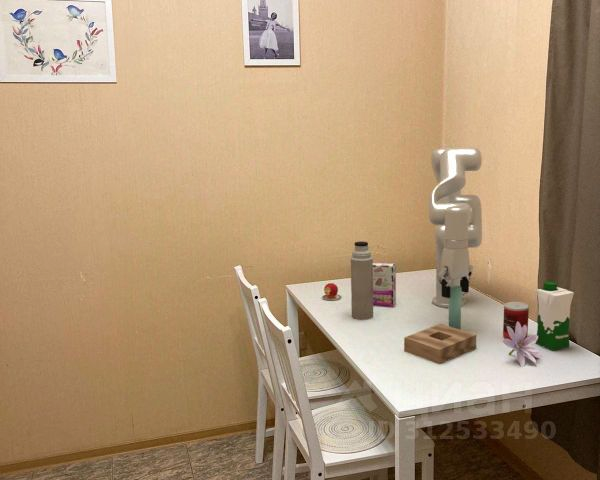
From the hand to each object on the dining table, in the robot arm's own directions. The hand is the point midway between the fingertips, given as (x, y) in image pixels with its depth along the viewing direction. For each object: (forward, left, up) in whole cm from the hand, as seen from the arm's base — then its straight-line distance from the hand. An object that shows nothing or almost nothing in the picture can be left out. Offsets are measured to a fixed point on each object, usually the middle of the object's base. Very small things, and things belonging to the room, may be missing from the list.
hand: (455, 294), depth 207 cm
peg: (-1, 0, -14) cm, 14 cm away
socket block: (+14, +6, -14) cm, 21 cm away
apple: (+2, -59, -14) cm, 61 cm away
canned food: (-11, +16, -14) cm, 24 cm away
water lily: (+3, +28, -14) cm, 31 cm away
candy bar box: (-6, -39, -14) cm, 42 cm away
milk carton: (-14, +28, -14) cm, 34 cm away
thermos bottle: (+9, -34, -14) cm, 38 cm away
